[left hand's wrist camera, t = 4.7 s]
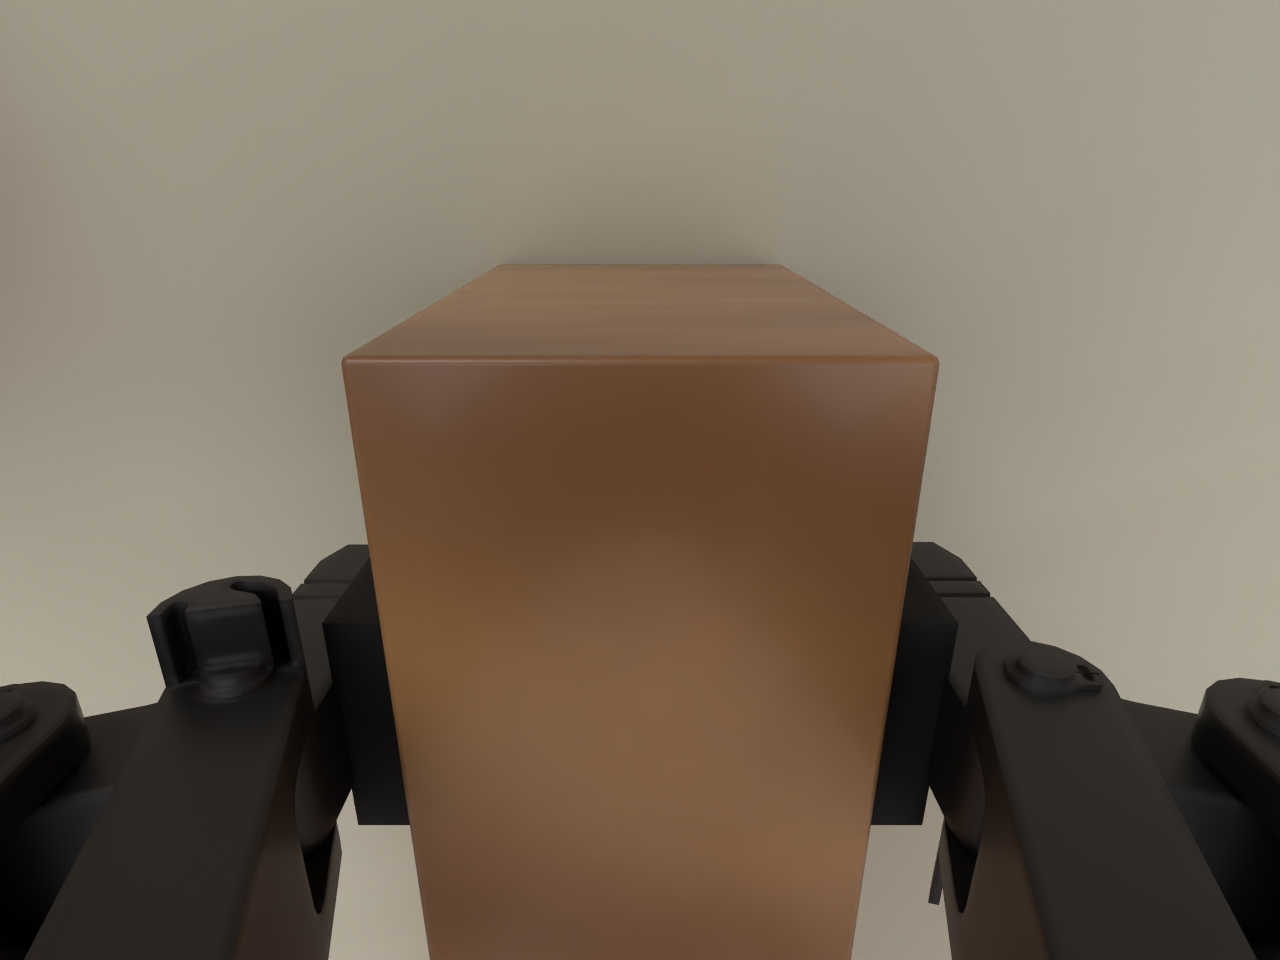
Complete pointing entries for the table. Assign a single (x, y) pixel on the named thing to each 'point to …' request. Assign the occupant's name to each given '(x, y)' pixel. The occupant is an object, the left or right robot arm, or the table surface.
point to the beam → (640, 603)
